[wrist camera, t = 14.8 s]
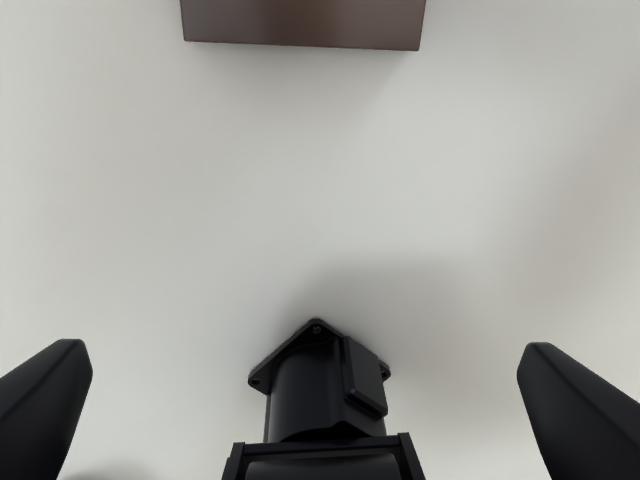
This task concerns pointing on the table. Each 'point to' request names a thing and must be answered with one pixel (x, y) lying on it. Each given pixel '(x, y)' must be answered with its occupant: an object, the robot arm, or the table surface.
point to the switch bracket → (306, 23)
